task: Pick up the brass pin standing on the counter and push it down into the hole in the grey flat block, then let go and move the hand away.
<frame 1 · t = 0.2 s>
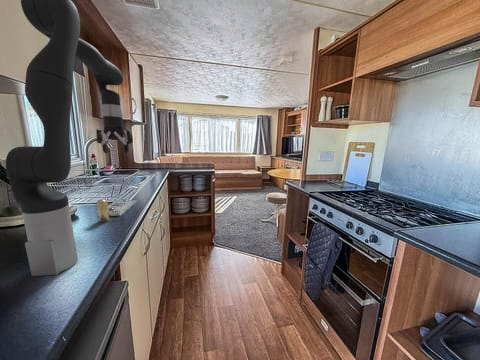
hand: (116, 153, 95), 28 cm above the worktop, tool pointing down, fingers open, 8 cm apart
grey flat block: (119, 209, 103), on the worktop
pin: (104, 220, 90), on the worktop
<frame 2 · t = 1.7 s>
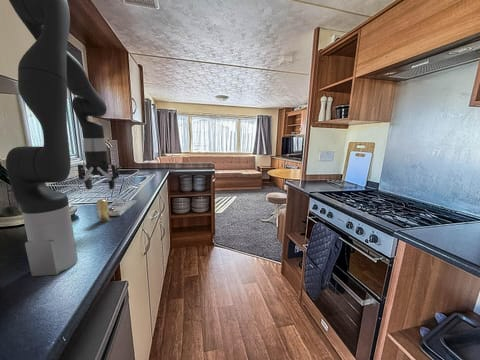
hand: (100, 188, 87), 14 cm above the worktop, tool pointing down, fingers open, 8 cm apart
nothing on the worktop moved.
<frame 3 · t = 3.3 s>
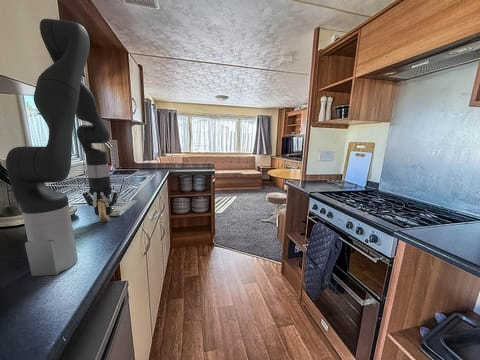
hand: (103, 214, 89), 3 cm above the worktop, tool pointing down, fingers closed on pin, 3 cm apart
pin: (104, 220, 90), on the worktop, touching gripper
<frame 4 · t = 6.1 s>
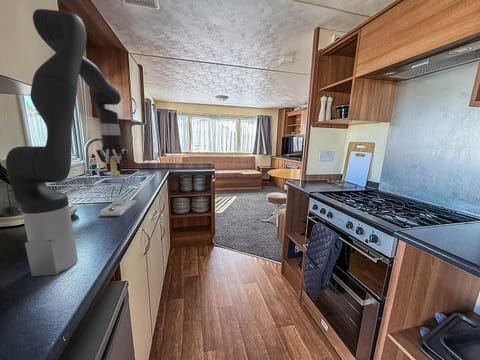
hand: (115, 170, 99), 19 cm above the worktop, tool pointing down, fingers closed on pin, 3 cm apart
pin: (115, 176, 100), point 17 cm above the worktop, touching gripper
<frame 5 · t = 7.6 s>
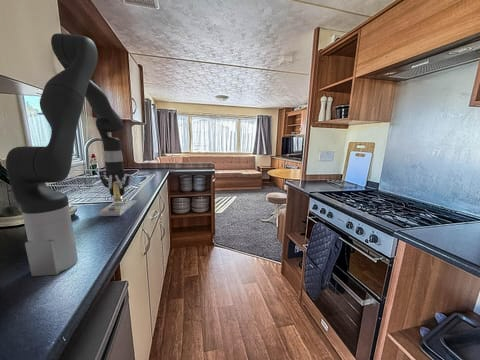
hand: (117, 195, 102), 7 cm above the worktop, tool pointing down, fingers closed on pin, 3 cm apart
pin: (118, 200, 102), point 4 cm above the worktop, touching gripper
when the fingers open (3 cm above the worktop, at t = 8.7 s): pin stays where it is, resting in grey flat block.
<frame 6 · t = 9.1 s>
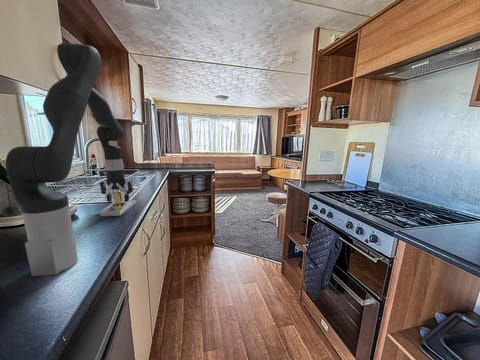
hand: (118, 201, 102), 4 cm above the worktop, tool pointing down, fingers open, 7 cm apart
pin: (119, 209, 103), resting in grey flat block
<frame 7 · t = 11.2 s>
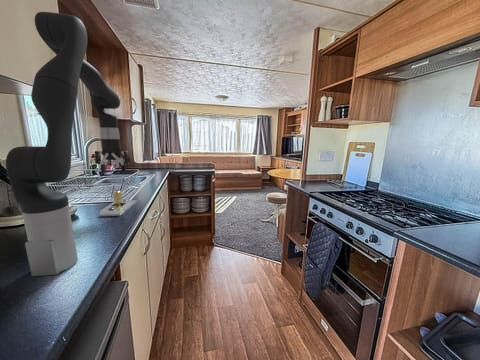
hand: (114, 172, 99), 18 cm above the worktop, tool pointing down, fingers open, 8 cm apart
nothing on the worktop moved.
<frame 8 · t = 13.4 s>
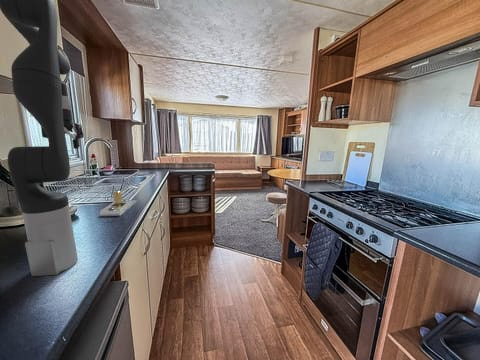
hand: (65, 148, 87), 30 cm above the worktop, tool pointing down, fingers open, 8 cm apart
nothing on the worktop moved.
at the end: pin 0.0 cm off-centre on the grey flat block, point 0.0 cm above the grey flat block's base; pin tilted 0°; the gripper is holding nothing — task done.
